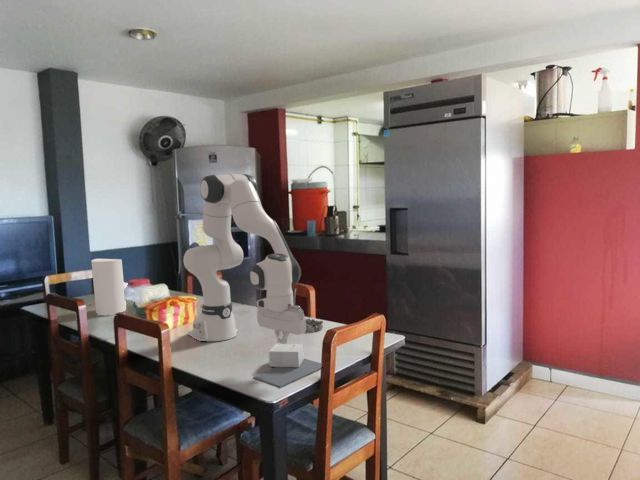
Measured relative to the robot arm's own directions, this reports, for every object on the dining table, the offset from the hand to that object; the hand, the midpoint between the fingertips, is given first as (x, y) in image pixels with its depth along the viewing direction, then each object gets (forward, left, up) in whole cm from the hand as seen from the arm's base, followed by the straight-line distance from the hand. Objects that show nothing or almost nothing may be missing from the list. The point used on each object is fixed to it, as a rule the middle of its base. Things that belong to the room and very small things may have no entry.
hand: (282, 342), depth 165 cm
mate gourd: (-38, +42, -10) cm, 57 cm away
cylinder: (-132, +4, -10) cm, 133 cm away
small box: (-7, +1, -6) cm, 10 cm away
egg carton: (-25, +41, -10) cm, 49 cm away
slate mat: (+3, 0, -9) cm, 10 cm away
